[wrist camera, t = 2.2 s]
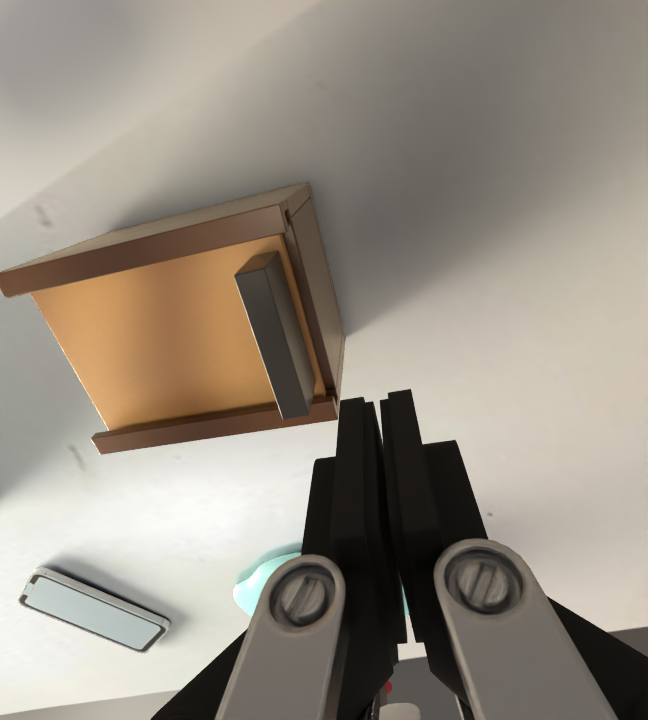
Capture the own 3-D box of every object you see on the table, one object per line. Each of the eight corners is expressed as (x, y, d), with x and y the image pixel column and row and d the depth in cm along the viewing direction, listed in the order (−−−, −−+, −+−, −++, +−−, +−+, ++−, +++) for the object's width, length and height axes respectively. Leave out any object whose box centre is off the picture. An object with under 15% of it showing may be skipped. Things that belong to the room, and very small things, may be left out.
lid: (279, 221, 17) (261, 238, 14) (326, 391, 21) (320, 434, 18) (33, 280, 19) (-27, 306, 16) (115, 425, 23) (78, 468, 20)
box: (308, 181, 24) (279, 203, 16) (345, 338, 28) (338, 420, 20) (107, 232, 26) (-10, 274, 18) (170, 370, 30) (100, 454, 22)
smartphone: (144, 655, 48) (14, 603, 44) (148, 646, 49) (21, 594, 45) (171, 628, 45) (33, 570, 41) (174, 618, 46) (40, 561, 42)
